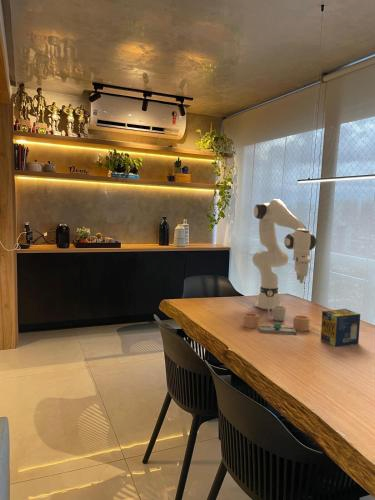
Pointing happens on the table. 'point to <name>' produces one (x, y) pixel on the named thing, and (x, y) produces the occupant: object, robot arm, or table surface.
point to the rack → (280, 331)
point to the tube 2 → (301, 323)
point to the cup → (278, 312)
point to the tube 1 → (251, 320)
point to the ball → (277, 325)
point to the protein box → (340, 327)
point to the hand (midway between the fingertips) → (299, 281)
